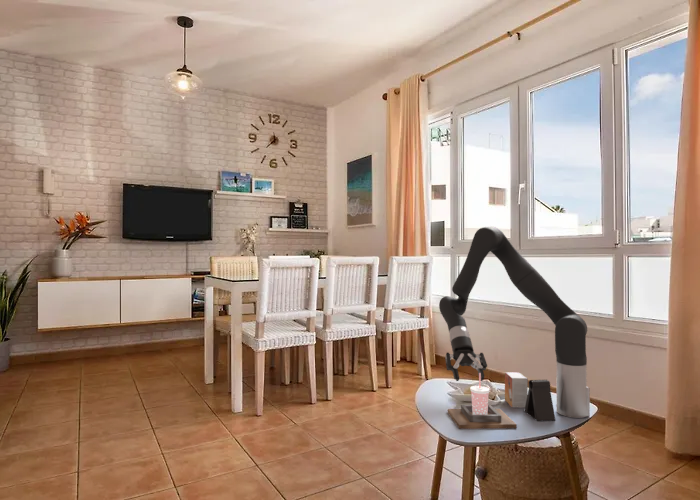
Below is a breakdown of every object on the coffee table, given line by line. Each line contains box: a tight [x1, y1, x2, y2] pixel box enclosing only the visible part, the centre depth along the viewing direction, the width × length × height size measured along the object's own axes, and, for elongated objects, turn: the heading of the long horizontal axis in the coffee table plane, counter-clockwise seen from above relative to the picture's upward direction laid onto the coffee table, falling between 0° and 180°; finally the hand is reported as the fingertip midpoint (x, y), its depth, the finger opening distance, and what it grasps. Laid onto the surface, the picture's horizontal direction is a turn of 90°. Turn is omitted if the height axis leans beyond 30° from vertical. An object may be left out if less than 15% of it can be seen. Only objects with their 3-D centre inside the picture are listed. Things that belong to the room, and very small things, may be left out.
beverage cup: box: [469, 373, 490, 415], centre depth 143 cm, size 6×6×14 cm
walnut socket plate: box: [447, 404, 518, 430], centre depth 143 cm, size 18×14×3 cm
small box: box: [504, 371, 529, 409], centre depth 158 cm, size 8×6×10 cm
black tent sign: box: [524, 379, 556, 422], centre depth 146 cm, size 9×6×12 cm, turn 5°
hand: (470, 380), depth 153 cm, fingers open, 8 cm apart
